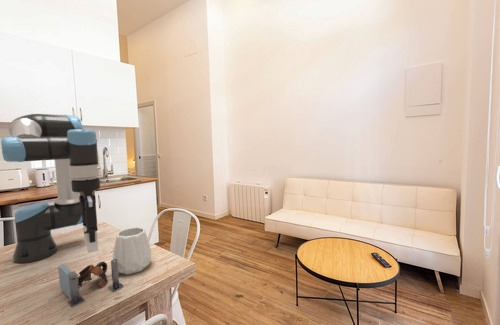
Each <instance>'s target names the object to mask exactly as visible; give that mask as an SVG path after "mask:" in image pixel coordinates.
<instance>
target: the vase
mask: <svg viewBox="0 0 500 325" xmlns="http://www.w3.org/2000/svg"><path fill="white" fill-rule="evenodd" d="M113 259H117V261H118V274H122V275H128V276H129V275H132V274H136V273H140V272H142V271H143V270H144V269H146V268H147V267H148V266H149V265H150V263H151V260H152V247H151V244H150V241H149V238H148V235H147V232H146V229H145V228H143V227H130V228H125V229H122V230H121V231H119V232H117V234H116V237H115V243H114V248H113V255H112V260H113Z"/></svg>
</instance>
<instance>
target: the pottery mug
mask: <svg viewBox="0 0 500 325" xmlns="http://www.w3.org/2000/svg"><path fill="white" fill-rule="evenodd" d="M107 270H108V264H107V262H105V261H99V263H97V264H96V265H93V264H88V265H87V266H85V267H84V268H83V269H81V271H79V272H78V273H79V275H78V284H79V288H82V287H83V283H84V282H91V281H92V280H93V278H92V274H93V275H95V276H96V277H99V278H101V280H100V281H99V282H98V285H99V286H100V288H101V289H103V288H104V287H105V286H106V284H107V283H108V281H109V280H108V277H107V275H106V273H107Z"/></svg>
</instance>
